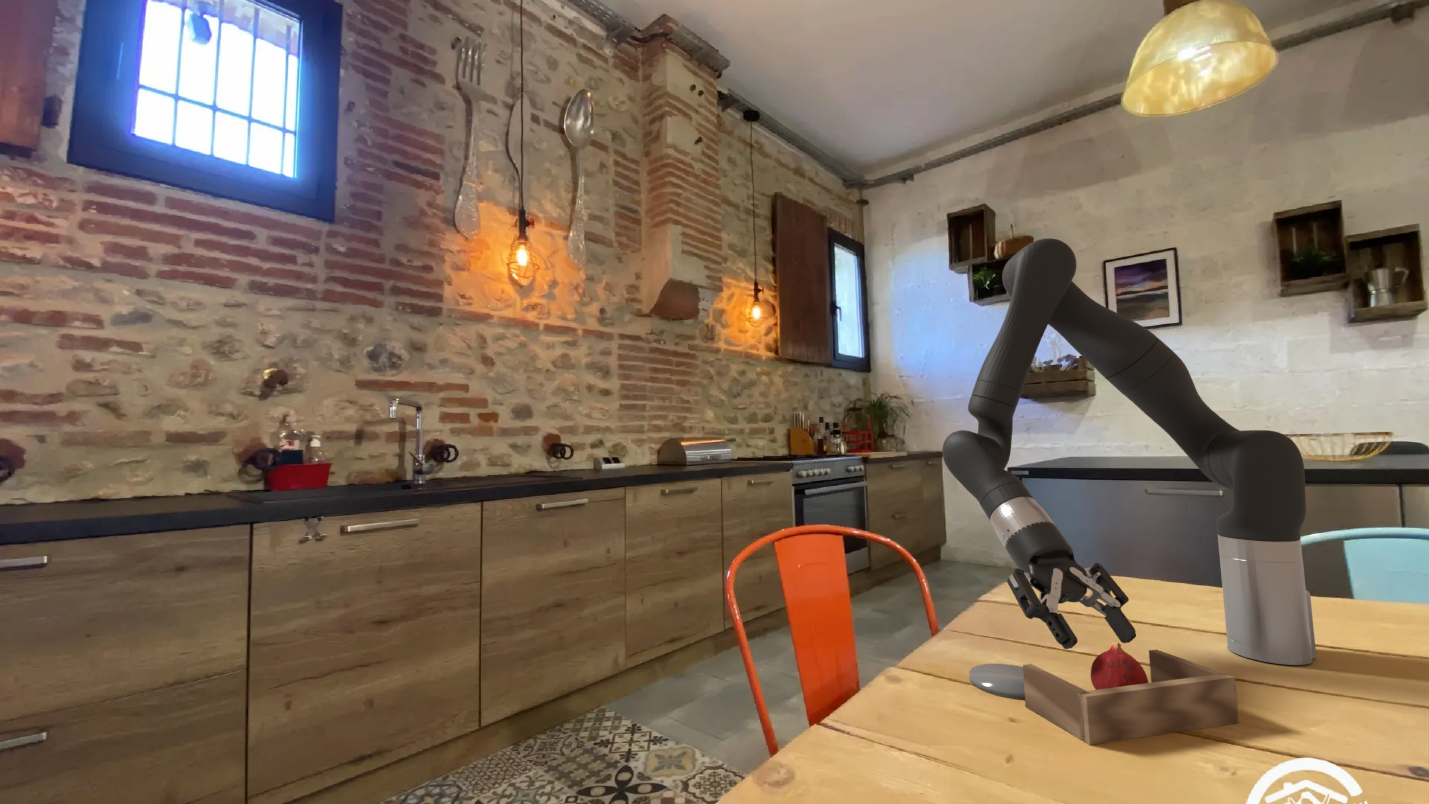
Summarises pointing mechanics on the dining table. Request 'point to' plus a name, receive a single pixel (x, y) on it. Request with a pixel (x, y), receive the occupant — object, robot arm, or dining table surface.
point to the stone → (999, 679)
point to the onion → (1116, 669)
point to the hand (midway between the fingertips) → (1101, 642)
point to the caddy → (1136, 701)
